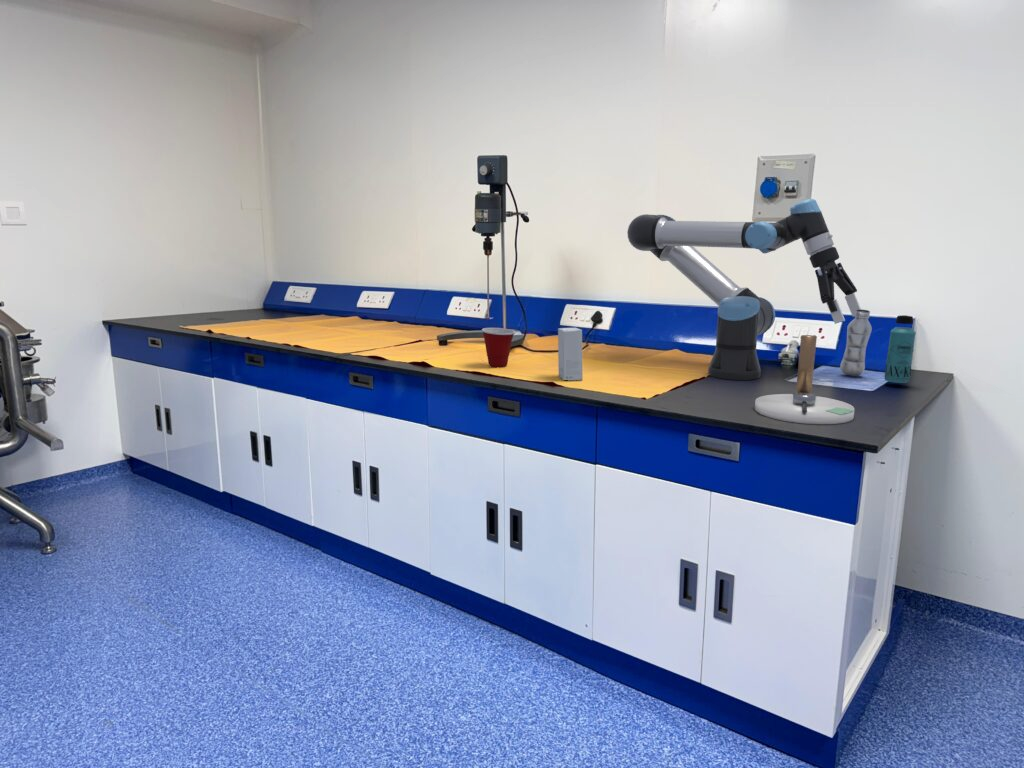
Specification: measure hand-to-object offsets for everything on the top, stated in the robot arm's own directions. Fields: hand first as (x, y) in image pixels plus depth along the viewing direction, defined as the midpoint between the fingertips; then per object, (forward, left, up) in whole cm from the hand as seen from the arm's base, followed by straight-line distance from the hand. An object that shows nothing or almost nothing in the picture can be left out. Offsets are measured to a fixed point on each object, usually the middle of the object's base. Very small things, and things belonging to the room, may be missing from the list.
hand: (849, 318), depth 203 cm
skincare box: (-75, -29, -18) cm, 83 cm away
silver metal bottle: (+3, +7, -18) cm, 19 cm away
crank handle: (-11, -47, -16) cm, 51 cm away
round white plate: (-11, -47, -18) cm, 52 cm away
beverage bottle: (+14, -4, -18) cm, 23 cm away
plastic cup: (-102, -19, -18) cm, 106 cm away
